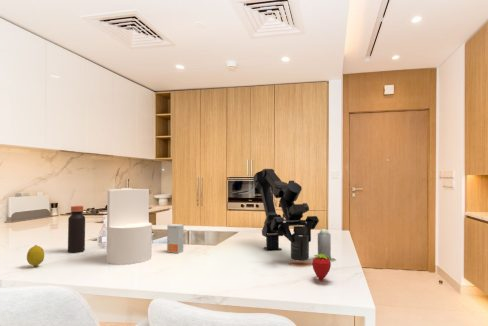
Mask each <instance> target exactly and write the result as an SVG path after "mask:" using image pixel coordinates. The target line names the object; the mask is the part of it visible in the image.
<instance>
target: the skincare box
mask: <svg viewBox="0 0 488 326" xmlns="http://www.w3.org/2000/svg"><path fill="white" fill-rule="evenodd" d="M184 226H185V225H184V224H181V223H180V224H179V223H178V224H177V223H172V224H171V223H170V224H168V225H167V230H166V231H167V232H166V235H167V238H166V240H167V243H166V252H167V253H171V252H172V254H180V252H181V253H183V252H184V230H185V229H184Z"/></svg>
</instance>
